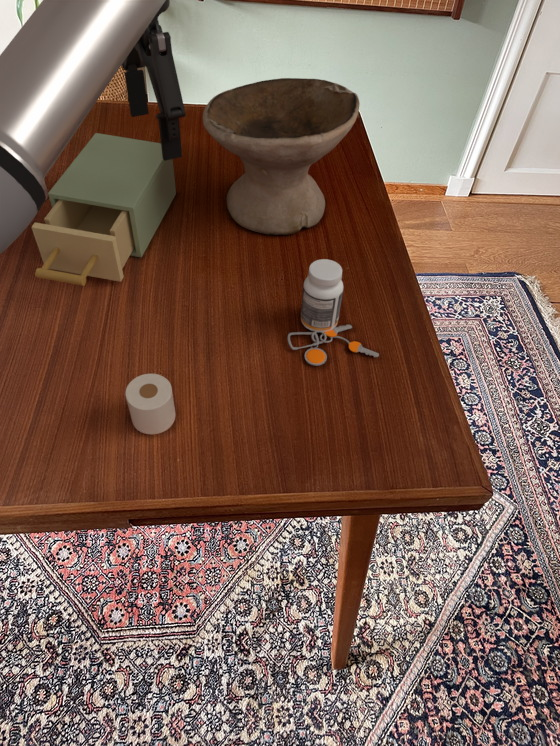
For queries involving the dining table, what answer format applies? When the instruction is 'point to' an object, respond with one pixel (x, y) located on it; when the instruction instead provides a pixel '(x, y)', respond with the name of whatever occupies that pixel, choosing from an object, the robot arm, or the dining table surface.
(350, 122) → the bowl
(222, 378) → the dining table surface
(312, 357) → the key chain
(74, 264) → the drawer
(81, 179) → the cabinet
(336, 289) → the pill bottle
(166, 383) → the paper roll
